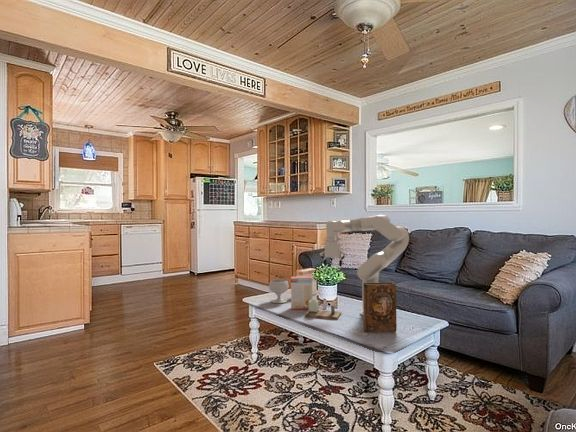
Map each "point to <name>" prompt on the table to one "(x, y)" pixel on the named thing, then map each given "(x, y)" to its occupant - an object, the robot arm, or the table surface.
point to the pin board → (325, 314)
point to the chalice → (278, 289)
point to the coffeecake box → (308, 273)
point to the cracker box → (301, 292)
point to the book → (379, 307)
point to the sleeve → (314, 306)
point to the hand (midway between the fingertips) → (333, 266)
